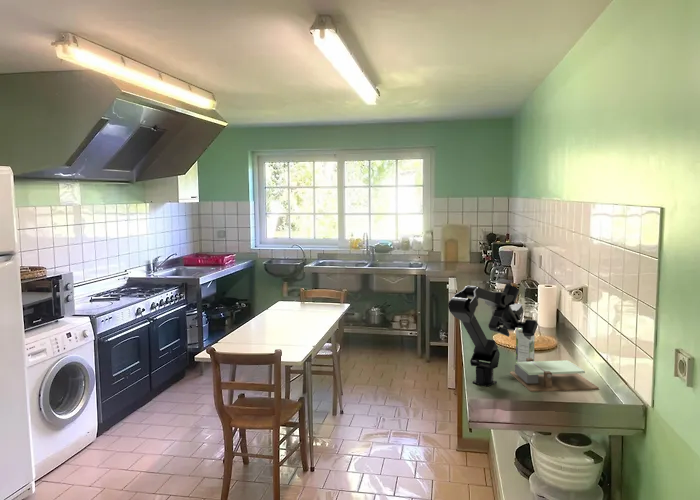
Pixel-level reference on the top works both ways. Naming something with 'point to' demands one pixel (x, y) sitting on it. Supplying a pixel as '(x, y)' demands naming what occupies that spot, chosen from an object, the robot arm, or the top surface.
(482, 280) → the top surface
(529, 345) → the syrup box
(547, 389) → the trapdoor frame
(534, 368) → the trapdoor
